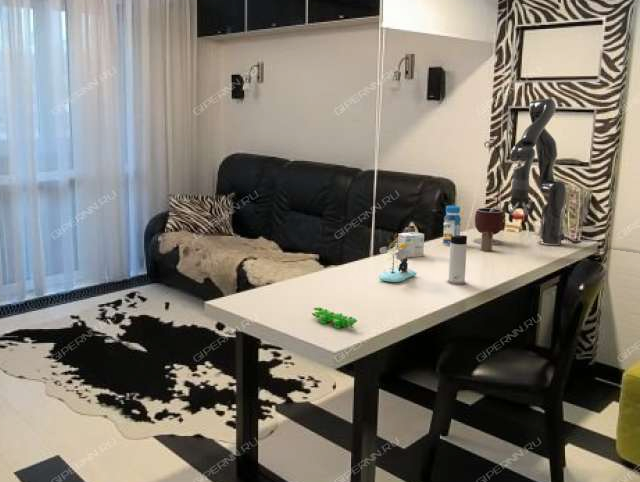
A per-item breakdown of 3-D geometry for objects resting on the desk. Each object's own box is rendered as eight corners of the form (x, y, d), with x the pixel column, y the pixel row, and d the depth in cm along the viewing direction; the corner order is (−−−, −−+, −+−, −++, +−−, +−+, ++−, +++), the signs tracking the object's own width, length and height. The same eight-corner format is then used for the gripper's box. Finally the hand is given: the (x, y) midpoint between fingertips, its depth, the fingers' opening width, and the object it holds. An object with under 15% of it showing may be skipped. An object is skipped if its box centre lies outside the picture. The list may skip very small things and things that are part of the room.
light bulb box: (415, 252, 297) (416, 231, 295) (424, 256, 291) (425, 234, 289) (397, 254, 294) (397, 233, 292) (404, 257, 287) (405, 235, 286)
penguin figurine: (399, 271, 265) (400, 237, 263) (421, 275, 257) (422, 241, 255) (372, 280, 252) (373, 244, 249) (395, 285, 244) (396, 249, 241)
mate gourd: (470, 238, 327) (472, 202, 324) (497, 239, 325) (500, 202, 322) (477, 245, 312) (480, 207, 309) (506, 245, 310) (508, 207, 307)
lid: (511, 219, 292) (511, 215, 292) (511, 216, 297) (512, 213, 297) (524, 220, 289) (524, 216, 289) (525, 217, 295) (525, 214, 294)
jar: (487, 248, 305) (488, 230, 303) (494, 250, 300) (495, 232, 298) (478, 249, 303) (479, 231, 301) (485, 251, 298) (487, 233, 297)
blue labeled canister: (462, 246, 310) (464, 207, 307) (445, 246, 311) (447, 207, 307) (456, 242, 319) (458, 205, 316) (440, 242, 319) (442, 205, 316)
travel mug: (457, 285, 243) (460, 237, 240) (445, 281, 249) (447, 234, 246) (468, 283, 246) (471, 235, 243) (456, 279, 252) (458, 232, 248)
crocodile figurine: (350, 333, 194) (350, 320, 193) (306, 319, 206) (306, 307, 206) (362, 327, 198) (362, 315, 197) (318, 314, 211) (319, 302, 210)
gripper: (533, 187, 294) (530, 221, 297) (502, 186, 295) (500, 220, 298) (538, 189, 286) (536, 224, 289) (507, 188, 288) (504, 223, 291)
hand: (517, 222), depth 294 cm, fingers closed on lid, 5 cm apart
